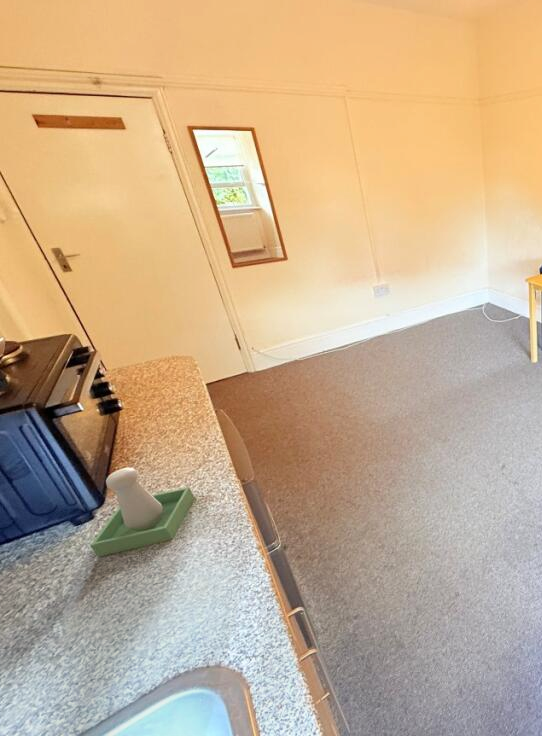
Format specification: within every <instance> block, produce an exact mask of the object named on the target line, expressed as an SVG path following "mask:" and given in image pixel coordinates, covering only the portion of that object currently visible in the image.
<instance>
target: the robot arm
mask: <svg viewBox="0 0 542 736" xmlns="http://www.w3.org/2000/svg"><path fill="white" fill-rule="evenodd" d="M5 349H6V340H5V339H4V338H3V337H0V364H2V360H3V358H4V357H5V355H6V352H5ZM8 388H10V383H9V380H8V379H7V377H6V376H5V374H4V373H3V371H2V369H0V393H2V392H3V391H5V390H6V389H8Z"/></svg>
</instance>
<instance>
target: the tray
mask: <svg viewBox="0 0 542 736" xmlns="http://www.w3.org/2000/svg"><path fill="white" fill-rule="evenodd" d="M151 495H152V496H153V497H154V498H155V499H156V500H157V501H158V502H160V503H161V505H162V508H163V512H162V519H161V520H160V521H159V522H158V523H157V525H156V526H154V527H152V528H149V529H147V530H145V531H136V530H133V529H131V528H129V527H127V526H126V525H125V524H124V520H123V517H122V513H121V510H120V506H119V505H118V507H117V509H116V510H115V511H114V512H113V514H112V515H111V516H110V518H109V519H108V520H107V522H106V523H105V524H104V526H103V527H102V529H101V530H100V532H98V534H97V535H96V537H95V538H94V539H93V541H92V542H91V543H90V546H89V547H90V548H91V549H92V551H93V552H94V553H95V554H96V556H97V557H98V558H100V557H103V556H104V557H105V556H108V555H112V554H116V553H120V552H125V551H129V550H134V549H137V548H142V547H145V546H149V545H154V544H159V543H162V542H165V541H170V540H174V537H175V536H176V533H177V532H178V529H179V528H180V526H181V524H182V522H183V521H184V519H185V517H186V515H187V513H188V511H189V510H190V508H191V505H192V503H193V502H194V500H195V498H196V497H195V495H194V493H193V491H192V489H191V488H190V486H187V487H183V488H178V489H173V490H168V491H163V492H159V493H154V494H151Z"/></svg>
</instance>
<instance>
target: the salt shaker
mask: <svg viewBox="0 0 542 736" xmlns="http://www.w3.org/2000/svg"><path fill="white" fill-rule="evenodd" d="M138 479H139V473H138V471H137V470H136V469H135V468H132V467H124V468H120V469H118V470H116V471H114V472H112V473H111V474H109V475H108V476H107V477H106V480H105V485H106V487H107V488H108V489H109V490H112V491H114V492H115V496H116V499H117V504H118V507H119V506H120V510H121V513H122V517H123V520H124V524H125V525H126V526H127V527H129V528H131V529H133V530H136V531H145V530H147V529H149V528H152V527H154V526H156V525H157V523H158V522H159V521H160V520H161V519H162V512H163V508H162V505H161V503H160V502H158V501H157V500H156V499H155V498H154V497H153V496H152V495H153V494H151V492H149V491H148V490H147V489H146V488H145V487H143V485H142V484H141V483H140V482H139V481H138Z"/></svg>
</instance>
